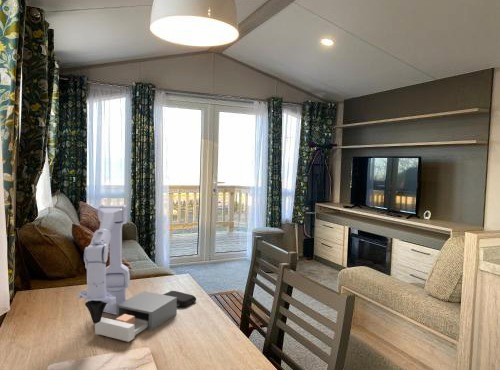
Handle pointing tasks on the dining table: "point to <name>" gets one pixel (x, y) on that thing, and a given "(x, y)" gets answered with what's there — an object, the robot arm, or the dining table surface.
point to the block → (126, 319)
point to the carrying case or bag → (182, 298)
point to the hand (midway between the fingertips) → (96, 322)
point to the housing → (149, 308)
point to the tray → (120, 328)
